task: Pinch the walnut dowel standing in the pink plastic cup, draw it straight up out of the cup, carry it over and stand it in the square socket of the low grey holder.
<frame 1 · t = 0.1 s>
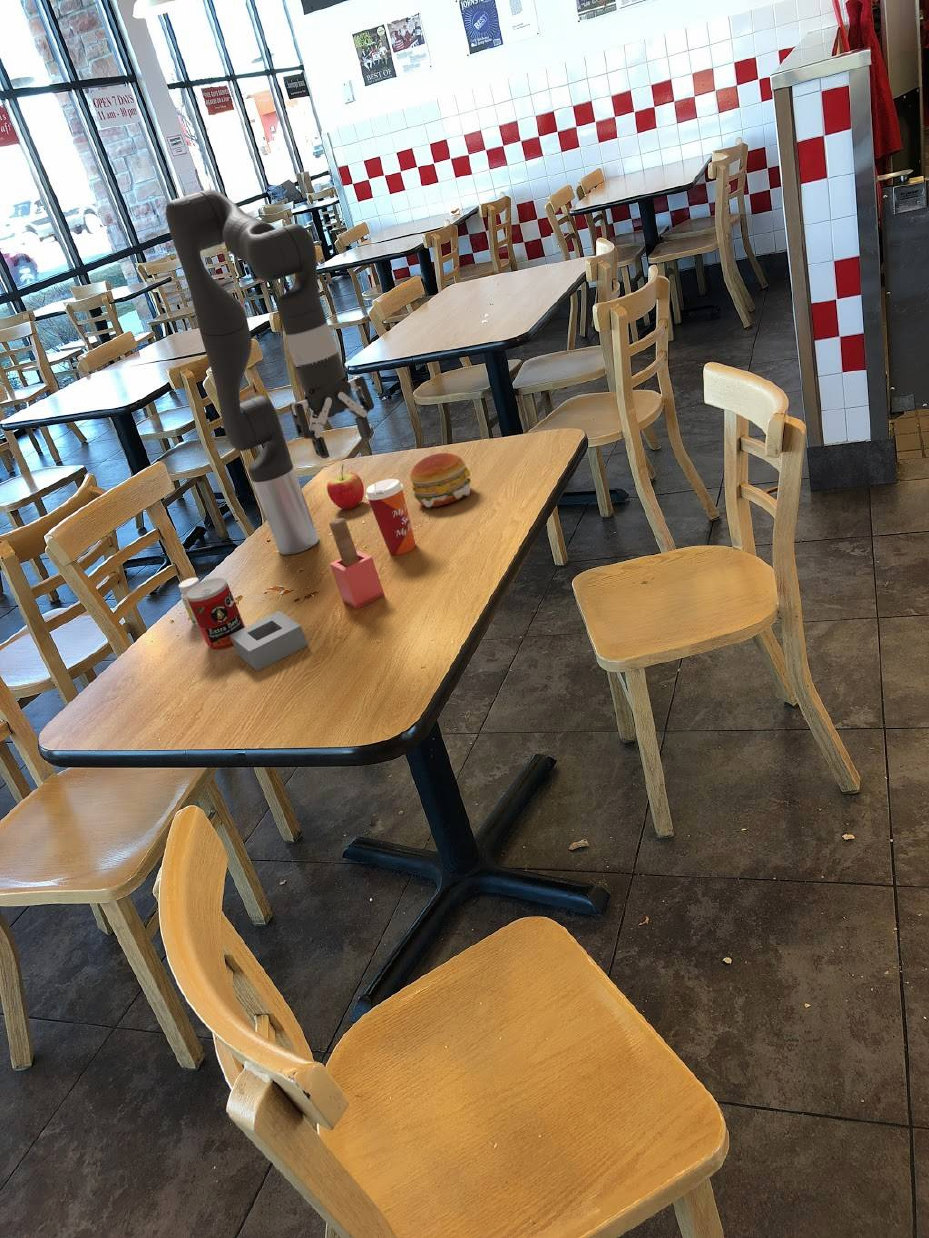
hand: (345, 447, 170), 29 cm above the table, tool pointing down, fingers open, 8 cm apart
apple: (351, 507, 233), on the table
dowel: (362, 594, 185), point 1 cm above the table, touching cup
holder: (272, 649, 176), on the table
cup: (363, 598, 185), on the table
canned food: (228, 640, 185), on the table
paper cup: (402, 549, 202), on the table
burger: (446, 499, 222), on the table
supplement bottle: (204, 620, 196), on the table
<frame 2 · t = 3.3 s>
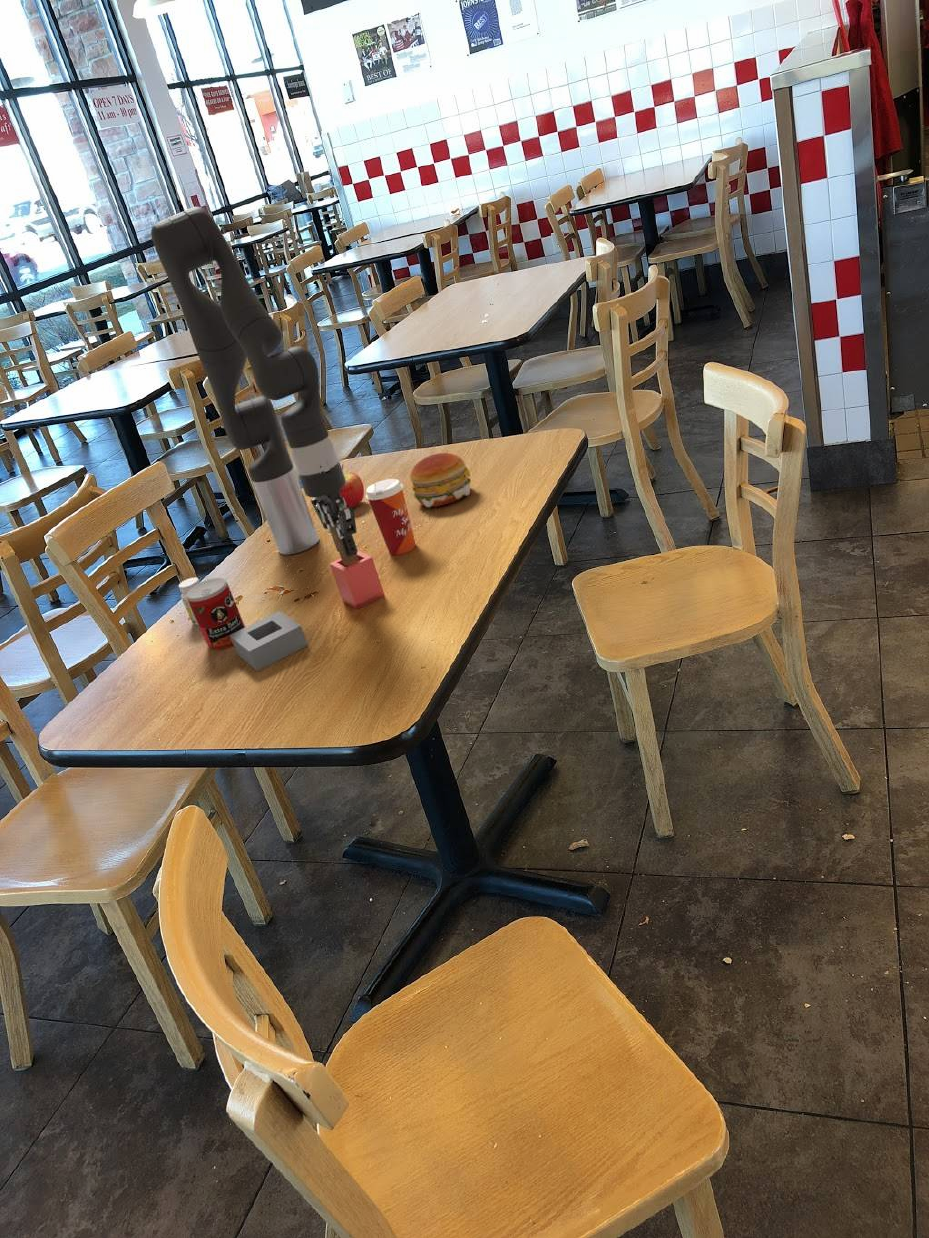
hand: (347, 552, 181), 10 cm above the table, tool pointing down, fingers closed on dowel, 3 cm apart
dowel: (362, 594, 185), point 1 cm above the table, touching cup, gripper
everything else where it was.
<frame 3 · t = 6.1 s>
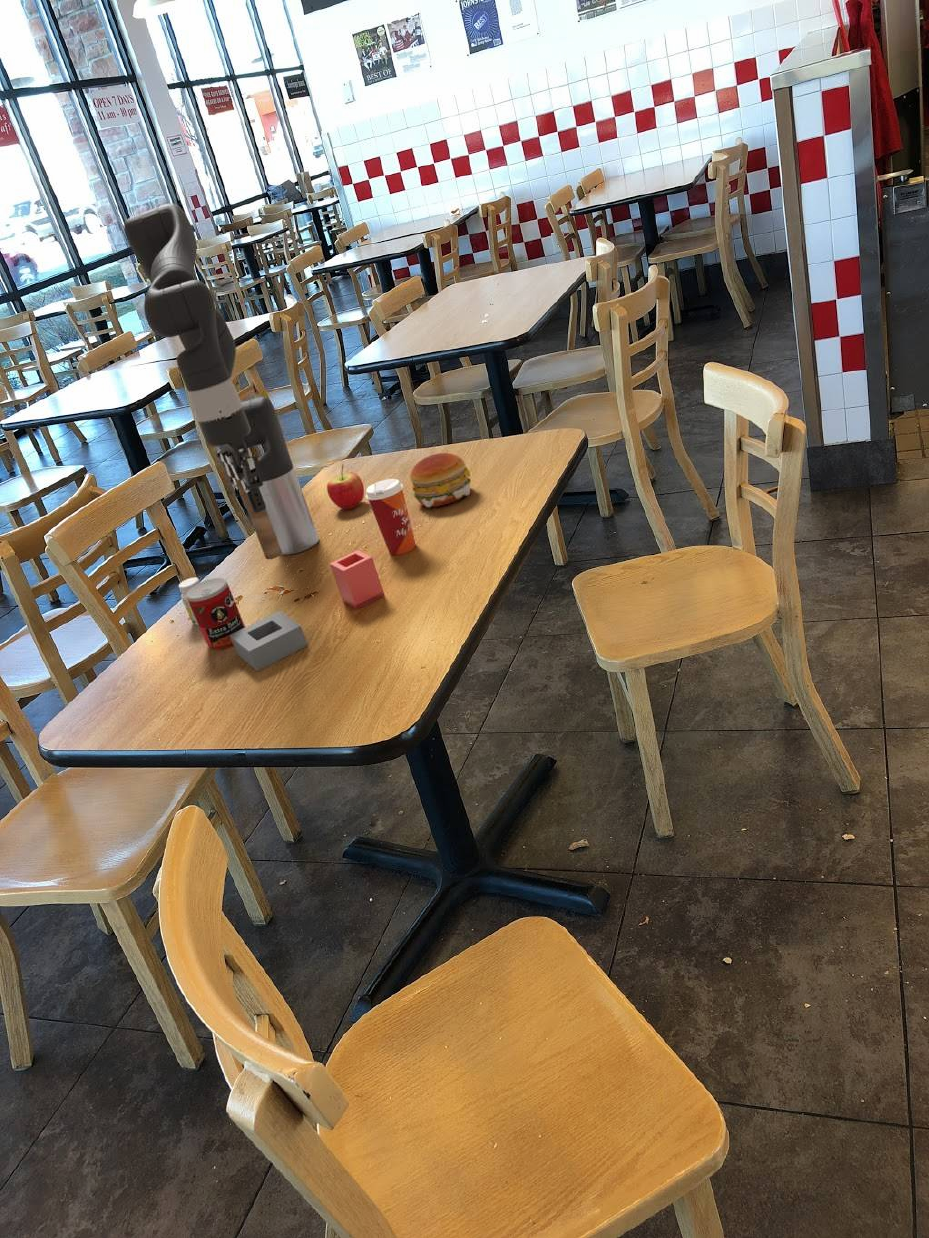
hand: (256, 508, 167), 25 cm above the table, tool pointing down, fingers closed on dowel, 3 cm apart
dowel: (273, 555, 171), point 16 cm above the table, touching gripper
everything else where it was.
when the fingers open (11 cm above the table, at t = 9.4 s): dowel stays where it is, resting on holder.
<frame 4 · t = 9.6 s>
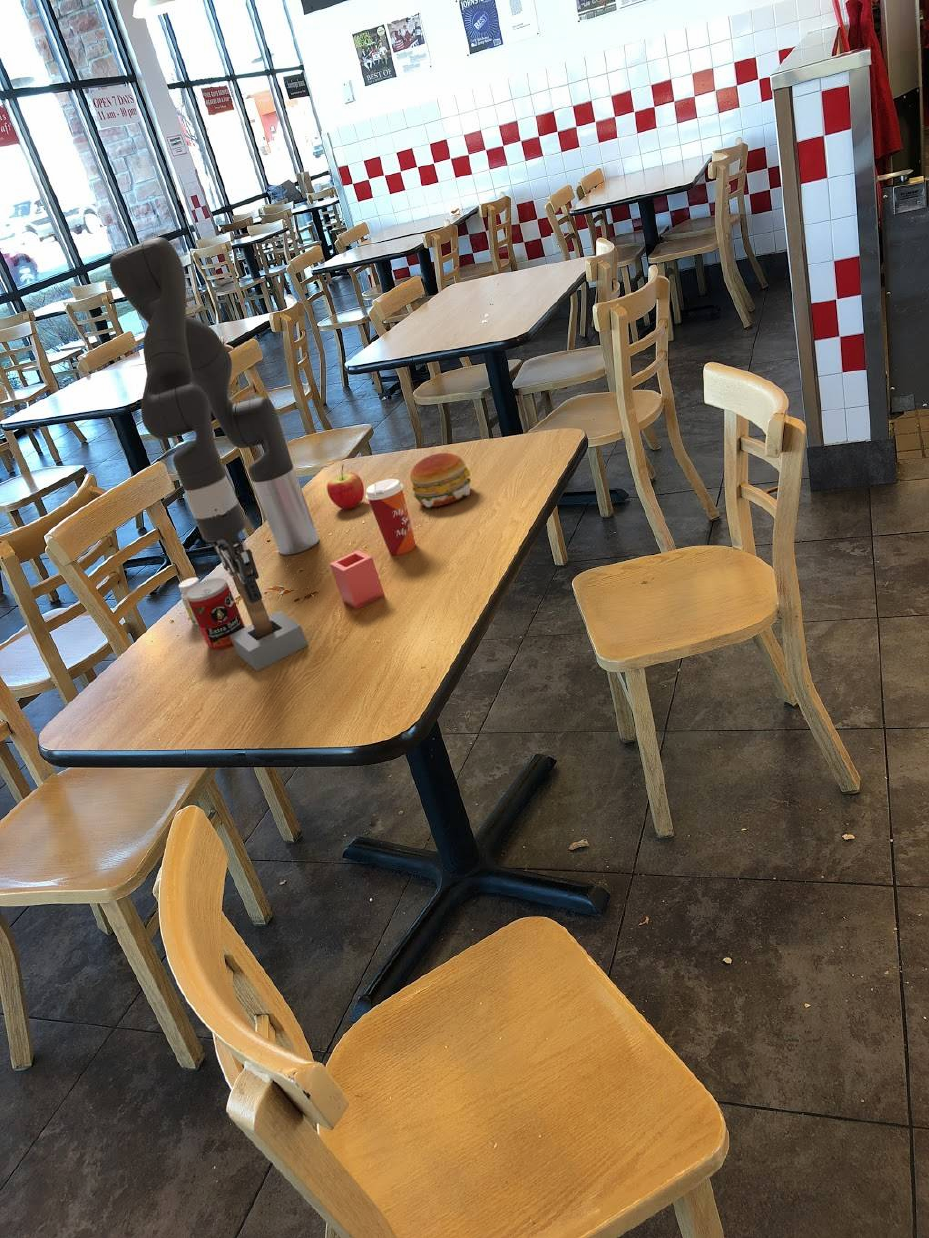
hand: (251, 596, 171), 11 cm above the table, tool pointing down, fingers open, 4 cm apart
dowel: (270, 645, 176), point 1 cm above the table, touching holder
everything else where it was.
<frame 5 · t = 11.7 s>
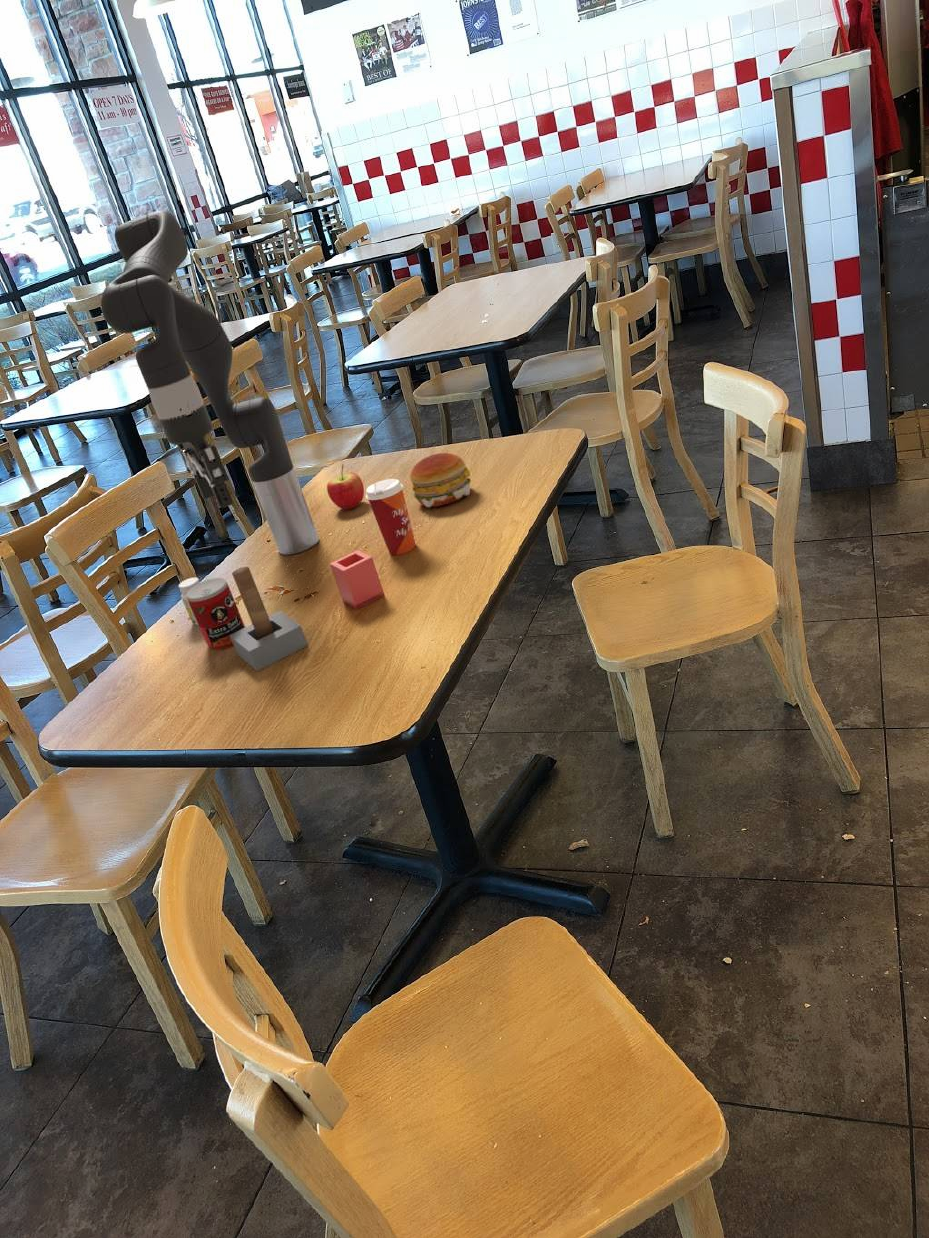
hand: (218, 501, 165), 28 cm above the table, tool pointing down, fingers open, 8 cm apart
nothing on the table moved.
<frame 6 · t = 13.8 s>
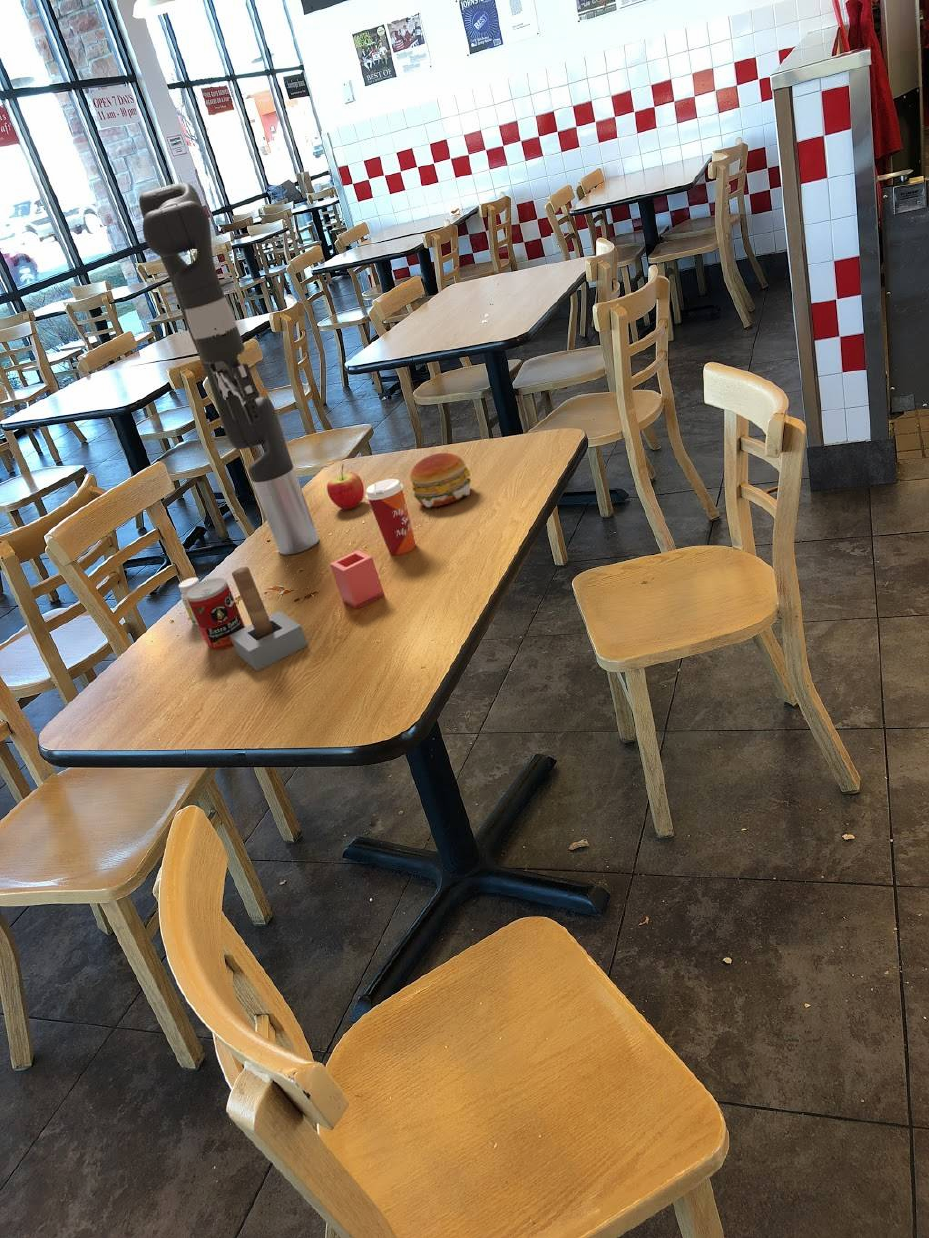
hand: (248, 420, 175), 36 cm above the table, tool pointing down, fingers open, 8 cm apart
nothing on the table moved.
at the end: dowel 0.1 cm off-centre on the holder, point 0.8 cm above the holder's base; dowel tilted 0°; the gripper is holding nothing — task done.
